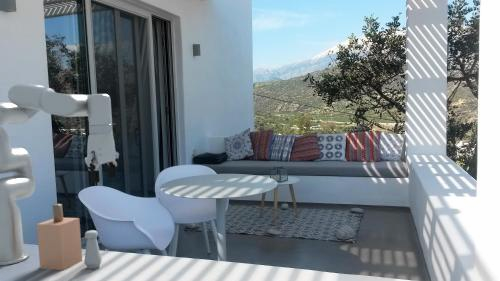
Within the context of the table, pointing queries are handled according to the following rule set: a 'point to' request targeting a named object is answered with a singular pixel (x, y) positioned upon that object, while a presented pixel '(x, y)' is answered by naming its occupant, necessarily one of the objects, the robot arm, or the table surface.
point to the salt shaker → (92, 250)
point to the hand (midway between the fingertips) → (104, 180)
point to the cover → (59, 241)
